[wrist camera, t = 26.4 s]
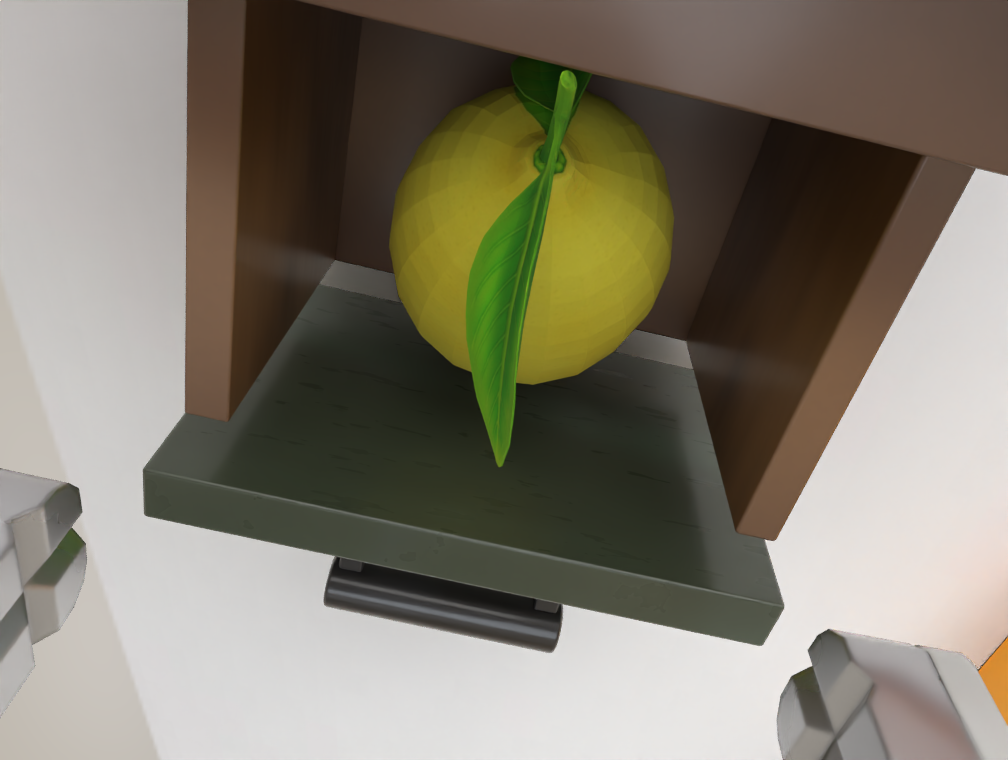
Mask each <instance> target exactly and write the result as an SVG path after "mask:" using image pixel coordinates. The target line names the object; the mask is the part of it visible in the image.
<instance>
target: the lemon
mask: <svg viewBox="0 0 1008 760" xmlns="http://www.w3.org/2000/svg"><path fill="white" fill-rule="evenodd" d="M510 69H511V74H512V78H513V82H514V84H515V85H514V86H509V87H504V88H499V89H495V90H493V91H490V92H488V93H486V94H484V95H482V96H480V97H478V98H475V99H473V100H471V101H469V102H467V103H465V104H463V105H460V106H458V107H456V108H454V109H452V110H451V111H450V112H449V113H448V114H447V116H446V117H445V118H444V119H443V120H442V121H441V122H440V123H439V124H438V125H437V126H436V128H435V129H434V130H433V131H432V132H431V133H430V134H429V135H428V136H427V137H426V139H425V140H424V141H423V142H422V143H421V144H420V146H419V147H418V149H417V151H416V153H415V155H414V157H413V159H412V161H411V163H410V165H409V167H408V168H407V170H406V172H405V174H404V176H403V178H402V180H401V182H400V184H399V187H398V189H397V192H396V196H395V203H394V210H393V217H392V225H391V232H390V241H389V248H390V253H391V258H392V264H393V269H394V275H395V280H396V286H397V291H398V296H399V298H400V299H401V301H402V303H403V305H404V307H405V308H406V310H407V312H408V314H409V316H410V317H411V319H412V321H413V323H414V324H415V326H416V328H417V330H418V332H419V333H420V334H421V336H422V337H423V338H424V339H425V340H426V341H428V342H429V343H430V344H431V345H432V346H433V347H434V348H435V349H436V350H437V351H439V352H440V353H441V354H442V355H443V356H444V357H445V358H446V359H447V360H448V361H450V362H451V363H452V364H453V365H455V366H457V367H460V368H462V369H465V370H467V371H470V372H472V376H473V382H474V387H475V392H476V397H477V400H478V403H479V406H480V409H481V413H482V416H483V419H484V422H485V425H486V428H487V431H488V435H489V438H490V441H491V445H492V448H493V452H494V455H495V459H496V462H497V465H498V467H502V466H503V463H504V460H505V458H506V455H507V452H508V450H509V447H510V442H511V434H512V427H513V420H514V411H515V397H516V383H522V384H531V385H534V384H539V383H543V382H548V381H552V380H557V379H561V378H566V377H571V376H575V375H578V374H579V373H581V372H583V371H584V370H586V369H587V368H589V367H591V366H592V365H594V364H595V363H597V362H598V361H600V360H602V359H603V358H605V357H606V356H608V355H610V354H611V353H613V352H614V351H615V350H616V349H617V348H618V347H619V345H620V344H621V343H622V342H623V341H624V340H625V339H626V338H627V337H628V336H629V335H630V334H631V333H632V331H633V330H634V329H635V328H636V327H637V326H638V325H639V324H640V323H641V322H642V321H643V320H644V319H645V317H646V316H647V315H648V314H649V312H650V310H651V309H652V307H653V305H654V303H655V300H656V298H657V296H658V294H659V291H660V289H661V287H662V285H663V282H664V280H665V278H666V276H667V273H668V271H669V268H670V261H671V250H672V238H673V225H674V214H673V208H672V203H671V198H670V193H669V189H668V184H667V179H666V174H665V170H664V167H663V165H662V163H661V161H660V160H659V158H658V156H657V155H656V153H655V151H654V149H653V148H652V146H651V144H650V142H649V141H648V139H647V137H646V135H645V134H644V132H643V130H642V128H641V127H640V126H639V125H638V124H637V123H636V122H635V121H633V120H632V119H631V118H630V117H629V116H627V115H626V114H625V113H624V112H623V111H621V110H620V109H619V108H618V107H617V106H615V105H614V104H613V103H612V102H611V101H609V100H606V99H604V98H602V97H599V96H597V95H595V94H592V93H590V92H587V91H585V88H586V86H587V84H588V82H589V80H590V78H591V76H592V73H588V72H584V71H580V70H576V69H572V68H568V67H564V66H559V65H555V64H551V63H547V62H543V61H539V60H535V59H531V58H527V57H523V56H519V57H518V58H517V59H516V60H514V61H513V62H512V65H511V67H510Z"/></svg>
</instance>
